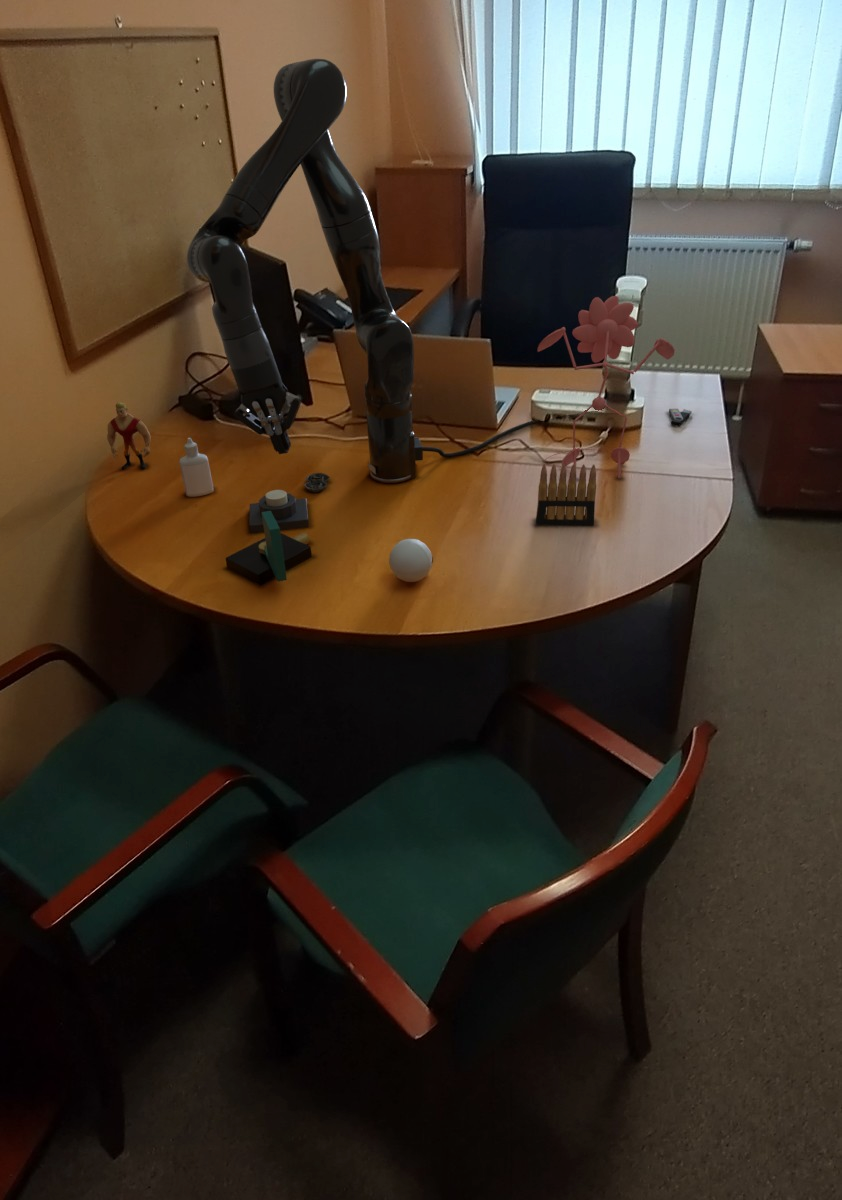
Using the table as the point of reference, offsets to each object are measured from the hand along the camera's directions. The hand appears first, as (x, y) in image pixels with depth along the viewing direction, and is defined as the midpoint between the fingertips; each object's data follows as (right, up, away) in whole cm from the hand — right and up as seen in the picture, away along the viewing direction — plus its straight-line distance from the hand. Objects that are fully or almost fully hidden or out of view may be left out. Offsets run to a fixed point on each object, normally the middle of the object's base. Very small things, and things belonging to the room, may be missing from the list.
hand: (284, 451), depth 152 cm
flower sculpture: (+61, +2, +27) cm, 66 cm away
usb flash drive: (+84, +16, +46) cm, 97 cm away
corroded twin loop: (+3, -3, +22) cm, 23 cm away
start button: (-3, -8, +9) cm, 12 cm away
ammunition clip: (+52, -12, +6) cm, 54 cm away
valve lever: (-1, -20, -8) cm, 22 cm away
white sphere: (+23, -23, -7) cm, 33 cm away
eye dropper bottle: (-21, -5, +22) cm, 30 cm away
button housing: (-3, -11, +11) cm, 16 cm away
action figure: (-38, +2, +33) cm, 51 cm away
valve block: (-1, -20, -2) cm, 20 cm away
